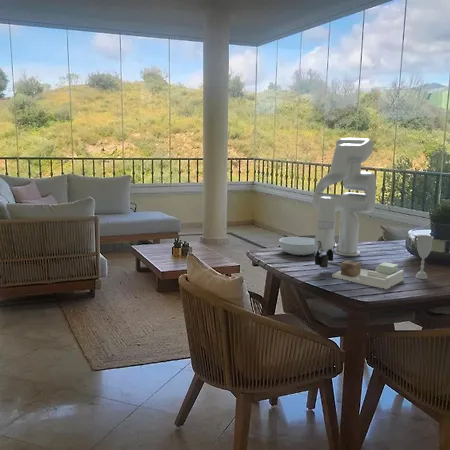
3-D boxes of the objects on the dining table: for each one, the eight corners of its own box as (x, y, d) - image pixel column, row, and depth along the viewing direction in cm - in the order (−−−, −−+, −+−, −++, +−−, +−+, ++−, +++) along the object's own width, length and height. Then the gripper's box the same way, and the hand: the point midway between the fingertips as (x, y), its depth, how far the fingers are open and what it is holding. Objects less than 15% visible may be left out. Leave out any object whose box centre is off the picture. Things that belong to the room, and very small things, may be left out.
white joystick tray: (332, 277, 213) (333, 261, 212) (350, 269, 226) (351, 255, 225) (386, 289, 198) (388, 272, 197) (403, 280, 211) (404, 264, 209)
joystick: (316, 268, 219) (317, 256, 218) (323, 266, 224) (323, 253, 223) (353, 276, 208) (354, 263, 207) (360, 273, 213) (361, 260, 212)
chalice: (421, 280, 211) (425, 238, 208) (409, 276, 217) (412, 235, 214) (433, 278, 215) (437, 237, 211) (421, 274, 221) (424, 234, 217)
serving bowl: (328, 255, 254) (328, 241, 253) (300, 260, 241) (300, 246, 240) (297, 247, 270) (298, 234, 269) (270, 252, 257) (270, 239, 256)
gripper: (328, 220, 226) (326, 257, 229) (308, 226, 213) (306, 264, 217) (343, 223, 221) (341, 260, 225) (323, 228, 208) (321, 268, 212)
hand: (324, 262), depth 221 cm, fingers open, 9 cm apart
